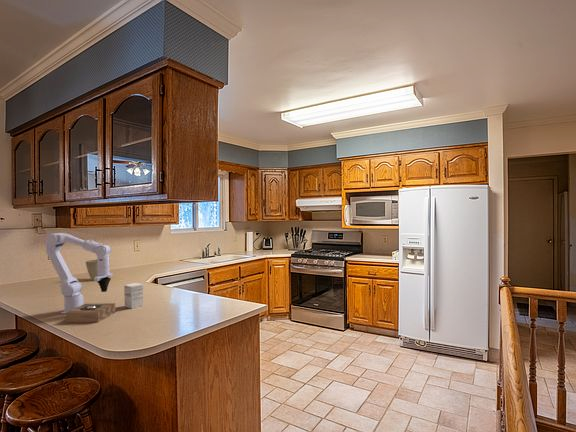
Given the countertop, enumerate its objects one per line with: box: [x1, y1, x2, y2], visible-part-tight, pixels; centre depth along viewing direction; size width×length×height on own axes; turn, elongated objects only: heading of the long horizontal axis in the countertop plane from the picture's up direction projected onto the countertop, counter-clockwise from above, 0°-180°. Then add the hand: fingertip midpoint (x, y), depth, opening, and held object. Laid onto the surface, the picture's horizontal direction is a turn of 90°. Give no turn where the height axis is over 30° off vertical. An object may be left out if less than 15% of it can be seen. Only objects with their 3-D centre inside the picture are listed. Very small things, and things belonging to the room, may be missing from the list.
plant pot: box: [85, 258, 98, 282], centre depth 269 cm, size 15×15×16 cm
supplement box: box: [124, 282, 144, 310], centre depth 189 cm, size 7×7×13 cm
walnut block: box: [65, 302, 116, 324], centre depth 170 cm, size 16×16×6 cm
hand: (104, 291), depth 182 cm, fingers closed
